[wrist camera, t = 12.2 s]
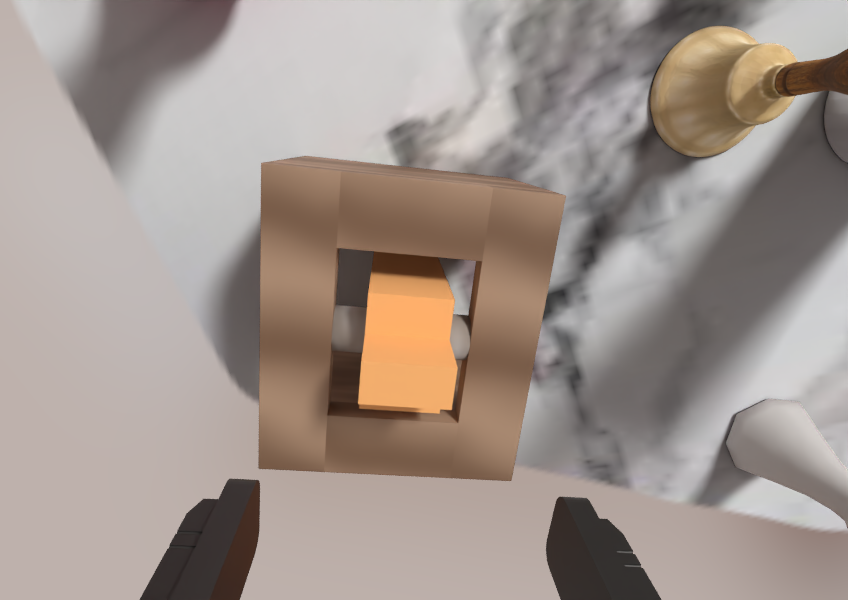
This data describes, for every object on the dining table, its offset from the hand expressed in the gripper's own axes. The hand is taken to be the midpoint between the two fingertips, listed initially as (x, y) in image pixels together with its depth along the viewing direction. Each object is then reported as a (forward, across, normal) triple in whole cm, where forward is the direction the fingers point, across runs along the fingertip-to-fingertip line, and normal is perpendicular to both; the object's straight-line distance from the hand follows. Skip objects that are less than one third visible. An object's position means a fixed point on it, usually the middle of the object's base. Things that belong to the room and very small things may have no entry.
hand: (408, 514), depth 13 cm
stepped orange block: (+21, 0, 0) cm, 21 cm away
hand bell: (+25, -20, -15) cm, 35 cm away
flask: (+24, -33, +11) cm, 43 cm away
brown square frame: (+24, 0, 0) cm, 24 cm away
